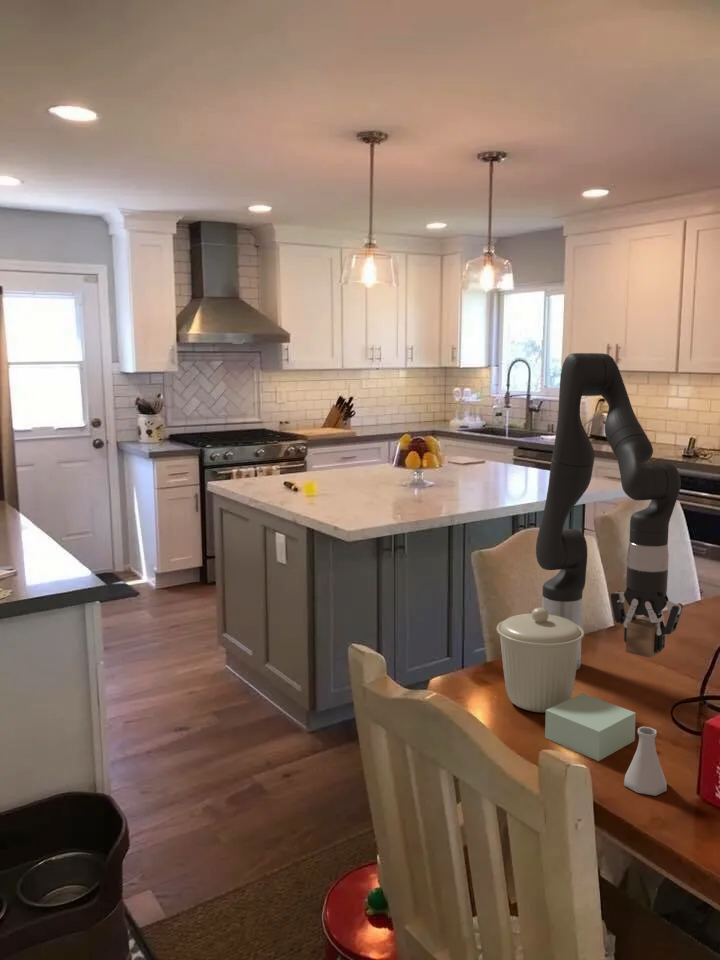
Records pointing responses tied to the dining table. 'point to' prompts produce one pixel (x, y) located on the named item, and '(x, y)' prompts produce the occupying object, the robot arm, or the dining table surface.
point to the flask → (646, 766)
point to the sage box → (590, 726)
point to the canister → (539, 658)
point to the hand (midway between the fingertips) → (643, 648)
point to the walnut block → (640, 637)
